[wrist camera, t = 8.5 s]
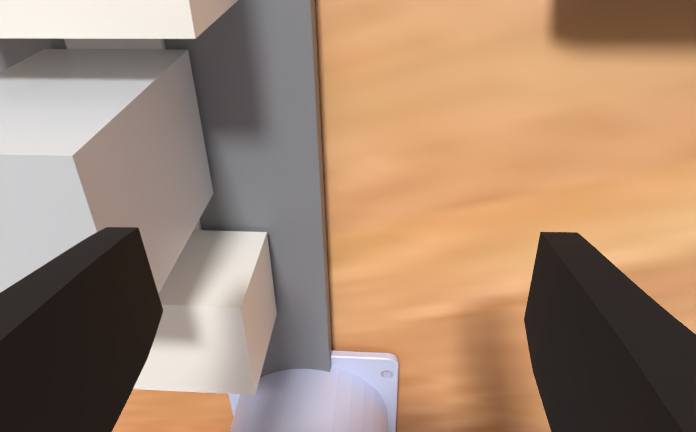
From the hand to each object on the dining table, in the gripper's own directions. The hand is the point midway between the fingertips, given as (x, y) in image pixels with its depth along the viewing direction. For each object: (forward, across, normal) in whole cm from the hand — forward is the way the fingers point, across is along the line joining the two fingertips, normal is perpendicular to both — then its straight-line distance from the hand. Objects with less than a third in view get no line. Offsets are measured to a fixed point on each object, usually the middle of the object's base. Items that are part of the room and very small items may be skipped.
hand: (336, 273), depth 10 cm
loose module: (+8, +7, +1) cm, 11 cm away
